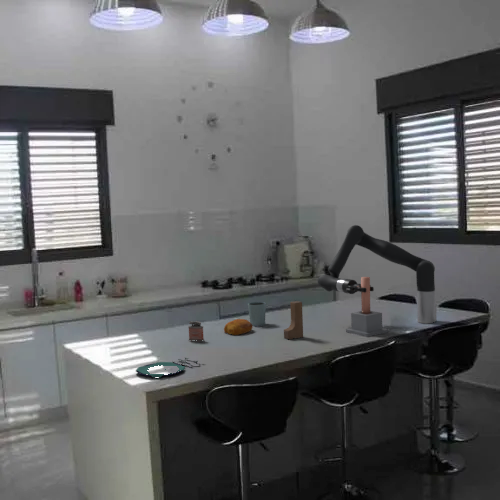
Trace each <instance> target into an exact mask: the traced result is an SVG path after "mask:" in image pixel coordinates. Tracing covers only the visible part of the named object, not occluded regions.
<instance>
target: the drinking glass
mask: <svg viewBox="0 0 500 500" xmlns="http://www.w3.org/2000/svg"><path fill="white" fill-rule="evenodd" d="M247 307H248V317H249V322H250V323H251V324H252V327H261V326H265V325H266V312H267V311H266V309H267V303H266V302H264V301H263V302H262V301H254V302H249V303H247Z"/></svg>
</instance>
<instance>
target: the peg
mask: <svg viewBox="0 0 500 500" xmlns="http://www.w3.org/2000/svg"><path fill="white" fill-rule="evenodd" d="M360 278H361V279H360V284H361V287H362V288H366V292H360V293H361V300H360V301H361V311H362V314H370V311H371V291H370V285H371V278H370V277H369V276H361V277H360Z"/></svg>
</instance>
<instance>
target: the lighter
mask: <svg viewBox="0 0 500 500" xmlns="http://www.w3.org/2000/svg"><path fill="white" fill-rule="evenodd" d="M187 329H188V341H189V340H195V341H194V342H203V341H202V340H204V341H205V339H204V325H202V322H201V321H198V320H195V321H194V320H193V321H189V325H188V328H187ZM196 340H197V341H196Z"/></svg>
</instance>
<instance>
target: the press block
mask: <svg viewBox="0 0 500 500" xmlns="http://www.w3.org/2000/svg"><path fill="white" fill-rule="evenodd" d="M350 317H351V318H350V322H351V327H350V328H346V329H345V331H346V333H349V334H353V335H357V336H360V337H361V336H362V337H365V338H369V337H372V336H376V335H382V334H386V333H388V332H389V329H388V328H385V327H384V328H383V312H380V311H376V310H375V311H374V310H370V314H362V310H360V311H354V312H351V313H350Z"/></svg>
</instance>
